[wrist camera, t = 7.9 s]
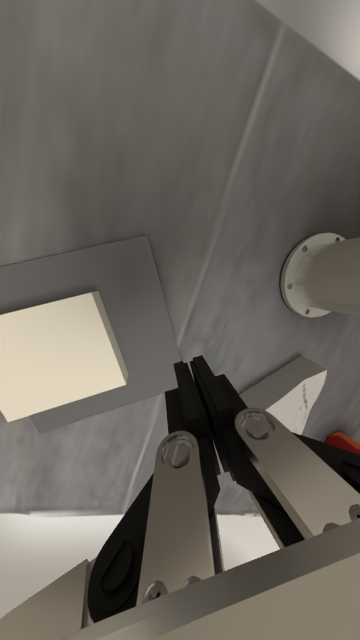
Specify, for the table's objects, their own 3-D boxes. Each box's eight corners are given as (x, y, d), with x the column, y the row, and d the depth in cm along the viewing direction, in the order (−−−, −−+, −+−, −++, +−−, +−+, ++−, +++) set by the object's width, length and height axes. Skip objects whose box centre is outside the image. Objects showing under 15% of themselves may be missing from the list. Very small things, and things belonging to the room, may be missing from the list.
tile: (91, 292, 19) (-53, 327, 17) (126, 384, 22) (8, 422, 20) (98, 290, 22) (-24, 320, 20) (128, 372, 25) (25, 404, 23)
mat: (147, 236, 22) (147, 234, 21) (186, 382, 28) (187, 384, 27) (-47, 278, 19) (-53, 278, 19) (41, 429, 25) (39, 433, 25)
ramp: (266, 478, 37) (285, 510, 32) (200, 472, 33) (210, 508, 28) (327, 363, 33) (361, 378, 28) (260, 341, 29) (284, 354, 24)
